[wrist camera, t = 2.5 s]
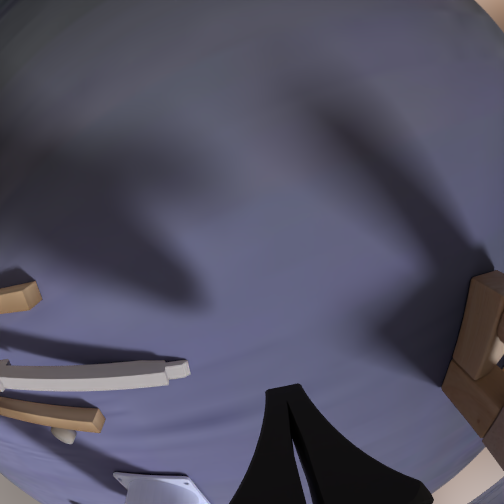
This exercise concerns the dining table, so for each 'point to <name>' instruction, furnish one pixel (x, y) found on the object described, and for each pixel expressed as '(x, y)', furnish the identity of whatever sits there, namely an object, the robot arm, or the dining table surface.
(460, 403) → the brown wooden frame
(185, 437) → the dining table surface
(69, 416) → the rails
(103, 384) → the caliper
